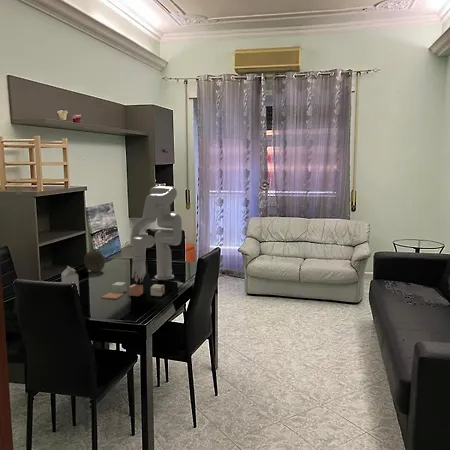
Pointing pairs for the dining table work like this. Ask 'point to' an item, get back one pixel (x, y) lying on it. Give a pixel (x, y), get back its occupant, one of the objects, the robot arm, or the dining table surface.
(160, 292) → the cream block
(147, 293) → the dining table surface
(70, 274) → the milk carton
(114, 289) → the sage block
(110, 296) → the colour tile
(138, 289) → the terracotta block
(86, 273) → the dining table surface
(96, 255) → the cantaloupe
